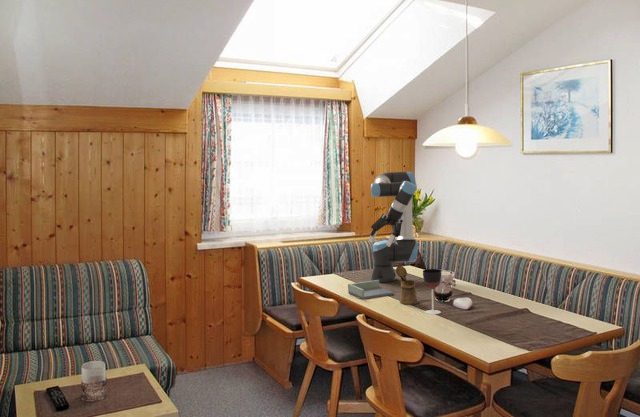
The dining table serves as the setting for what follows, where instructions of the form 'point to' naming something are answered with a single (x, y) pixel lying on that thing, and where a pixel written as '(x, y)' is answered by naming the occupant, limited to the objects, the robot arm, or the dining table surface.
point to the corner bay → (367, 290)
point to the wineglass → (432, 284)
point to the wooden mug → (406, 287)
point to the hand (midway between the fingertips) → (378, 243)
